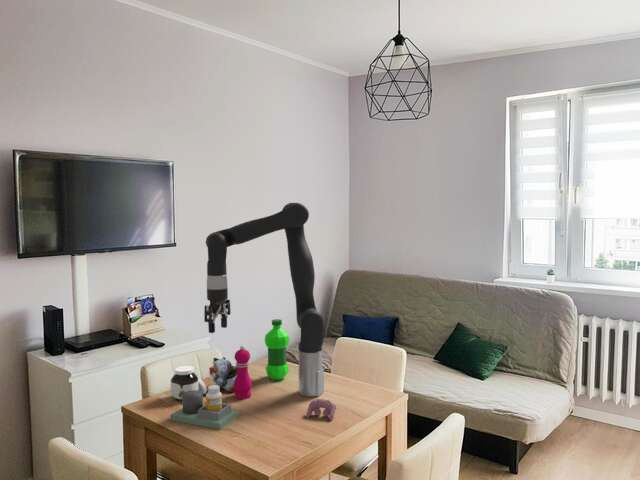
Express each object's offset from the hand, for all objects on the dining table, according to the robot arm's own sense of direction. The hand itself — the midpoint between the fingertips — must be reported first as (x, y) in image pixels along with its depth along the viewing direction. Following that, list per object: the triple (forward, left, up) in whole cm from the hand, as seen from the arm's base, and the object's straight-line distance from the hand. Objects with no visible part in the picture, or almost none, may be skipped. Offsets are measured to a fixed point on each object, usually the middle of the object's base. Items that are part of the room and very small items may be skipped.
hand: (218, 330), depth 200 cm
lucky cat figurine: (+5, -15, -28) cm, 33 cm away
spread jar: (+14, -1, -28) cm, 32 cm away
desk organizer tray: (-3, +14, -28) cm, 31 cm away
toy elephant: (-40, -3, -28) cm, 49 cm away
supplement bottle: (-7, +14, -26) cm, 30 cm away
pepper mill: (-5, -9, -28) cm, 30 cm away
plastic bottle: (-8, -33, -28) cm, 44 cm away
